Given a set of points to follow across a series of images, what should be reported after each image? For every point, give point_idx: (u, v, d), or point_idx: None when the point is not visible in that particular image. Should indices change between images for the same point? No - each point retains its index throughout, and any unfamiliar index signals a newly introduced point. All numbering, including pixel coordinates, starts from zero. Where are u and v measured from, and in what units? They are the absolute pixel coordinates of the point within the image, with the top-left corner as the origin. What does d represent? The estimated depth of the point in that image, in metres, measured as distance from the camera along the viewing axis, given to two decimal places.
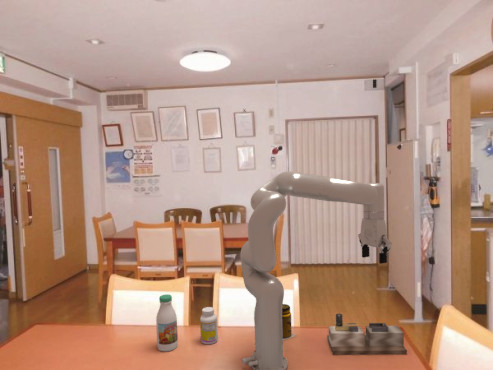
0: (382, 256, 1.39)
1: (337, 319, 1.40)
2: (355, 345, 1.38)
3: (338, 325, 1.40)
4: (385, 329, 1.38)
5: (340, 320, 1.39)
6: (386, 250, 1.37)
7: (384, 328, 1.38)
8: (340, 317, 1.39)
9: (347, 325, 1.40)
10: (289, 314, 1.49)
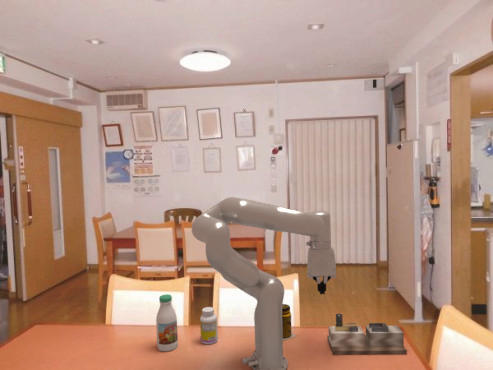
0: (325, 286, 1.39)
1: (337, 319, 1.40)
2: (355, 345, 1.38)
3: (338, 325, 1.40)
4: (385, 329, 1.38)
5: (340, 320, 1.39)
6: (328, 279, 1.40)
7: (384, 328, 1.38)
8: (340, 317, 1.39)
9: (347, 325, 1.40)
10: (289, 314, 1.50)
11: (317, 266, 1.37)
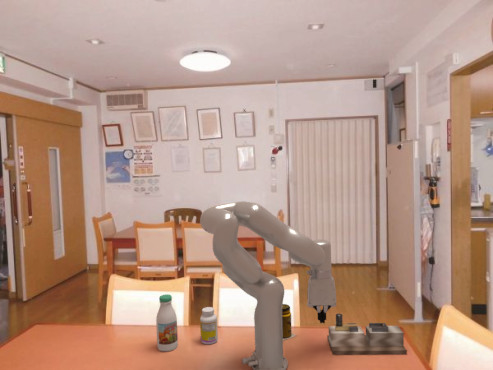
0: (325, 315, 1.40)
1: (337, 319, 1.40)
2: (355, 345, 1.38)
3: (338, 325, 1.40)
4: (385, 329, 1.38)
5: (340, 320, 1.39)
6: None
7: (384, 328, 1.38)
8: (340, 317, 1.39)
9: (347, 325, 1.40)
10: (289, 314, 1.49)
11: (317, 295, 1.38)
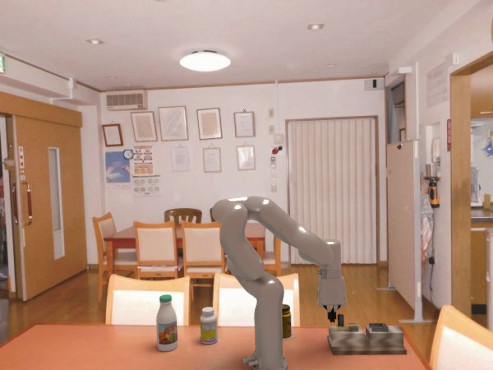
0: (335, 315, 1.40)
1: (339, 319, 1.40)
2: (355, 345, 1.38)
3: (340, 325, 1.40)
4: (385, 329, 1.38)
5: (342, 320, 1.39)
6: (338, 307, 1.40)
7: (384, 328, 1.38)
8: (342, 317, 1.39)
9: (349, 325, 1.40)
10: (289, 314, 1.49)
11: (327, 295, 1.37)
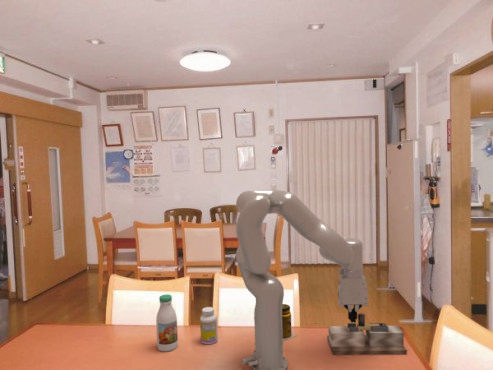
0: (356, 314, 1.39)
1: (359, 319, 1.39)
2: (355, 345, 1.38)
3: (360, 325, 1.39)
4: (385, 329, 1.38)
5: (362, 320, 1.39)
6: (359, 307, 1.40)
7: (384, 328, 1.38)
8: (362, 317, 1.39)
9: (369, 325, 1.40)
10: (289, 314, 1.50)
11: (349, 294, 1.37)
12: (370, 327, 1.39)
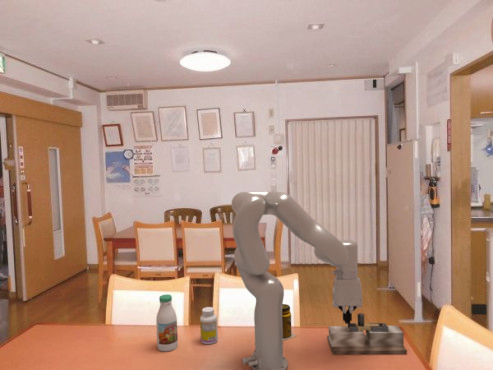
0: (350, 316, 1.39)
1: (359, 319, 1.39)
2: (355, 345, 1.38)
3: (360, 325, 1.39)
4: (385, 329, 1.38)
5: (362, 320, 1.39)
6: None
7: (384, 328, 1.38)
8: (362, 317, 1.39)
9: (369, 325, 1.40)
10: (289, 314, 1.49)
11: (343, 296, 1.37)
12: (370, 327, 1.39)
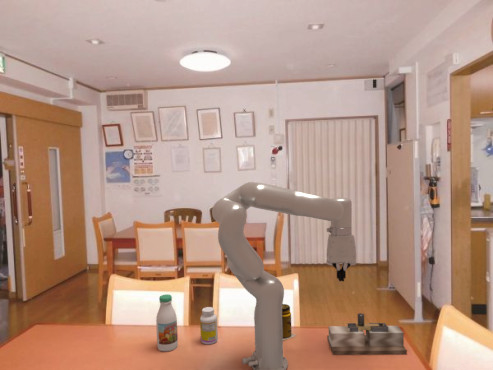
0: (344, 273, 1.39)
1: (359, 319, 1.39)
2: (355, 345, 1.38)
3: (360, 325, 1.39)
4: (385, 329, 1.38)
5: (362, 320, 1.39)
6: (348, 266, 1.39)
7: (384, 328, 1.38)
8: (362, 317, 1.39)
9: (369, 325, 1.40)
10: (289, 314, 1.50)
11: (337, 252, 1.37)
12: (370, 327, 1.39)
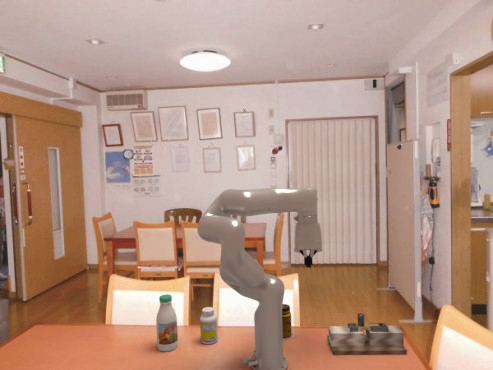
0: (311, 260, 1.44)
1: (359, 319, 1.39)
2: (355, 345, 1.38)
3: (360, 325, 1.39)
4: (385, 329, 1.38)
5: (362, 320, 1.39)
6: (314, 253, 1.45)
7: (384, 328, 1.38)
8: (362, 317, 1.39)
9: (369, 325, 1.40)
10: (289, 314, 1.49)
11: (304, 240, 1.42)
12: (370, 327, 1.39)
